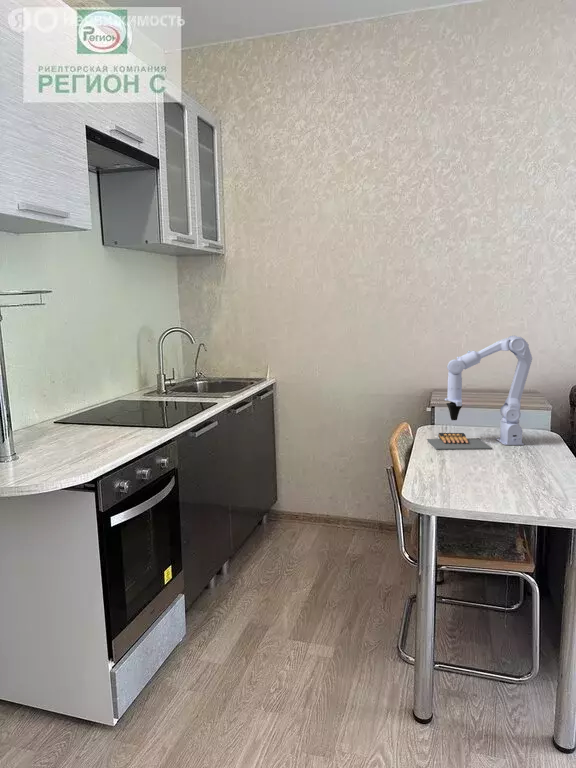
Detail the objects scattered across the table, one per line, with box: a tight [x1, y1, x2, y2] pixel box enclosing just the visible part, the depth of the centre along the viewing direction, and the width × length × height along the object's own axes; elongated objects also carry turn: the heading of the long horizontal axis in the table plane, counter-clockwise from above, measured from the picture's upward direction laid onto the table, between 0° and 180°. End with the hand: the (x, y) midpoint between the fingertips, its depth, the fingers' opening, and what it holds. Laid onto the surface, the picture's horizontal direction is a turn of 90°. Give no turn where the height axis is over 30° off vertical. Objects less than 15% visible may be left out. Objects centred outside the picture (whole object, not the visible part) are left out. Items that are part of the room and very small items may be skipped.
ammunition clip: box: [438, 432, 468, 443], centre depth 225 cm, size 11×2×12 cm
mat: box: [426, 437, 493, 451], centre depth 221 cm, size 16×22×1 cm
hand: (453, 420), depth 227 cm, fingers closed
